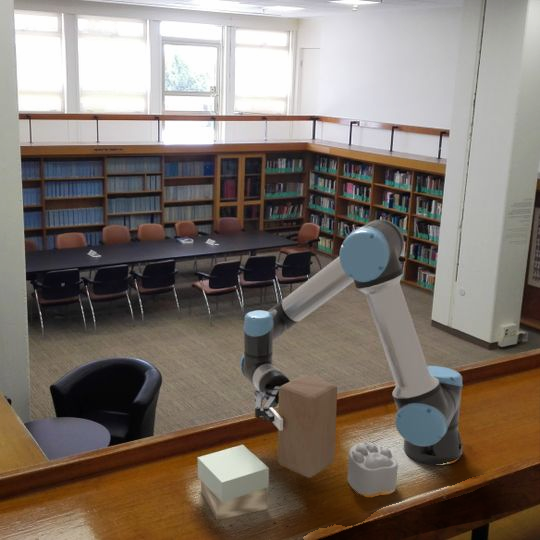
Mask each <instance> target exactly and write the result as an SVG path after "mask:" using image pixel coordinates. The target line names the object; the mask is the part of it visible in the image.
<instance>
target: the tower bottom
mask: <svg viewBox="0 0 540 540" xmlns="http://www.w3.org/2000/svg"><path fill="white" fill-rule="evenodd" d="M200 492H201V494H202V495H203V497H204V499H205V502H207V504H208V506H209V508H210V510H211V512H212V513H213V515H214V518H215V519H216V521H218V520H223V519H227V518H232V517H238V516H242V515H246V514H250V513H254V512H258V511H263V510H267V509H268V490H267V488H265V489H262V490H259V491H256V492H253V493H250V494H247V495H244V496H240V497H237V498H234V499H231V500H228V501H225V502H221V501H220V500H219V499H218V498H217V497H216V496H215V495H214V494H213V492H212V491H211V490H210V489H209V488H208V487H207V486H206V485H205V484H204V483H203V482H202V481H201V480H200Z"/></svg>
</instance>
